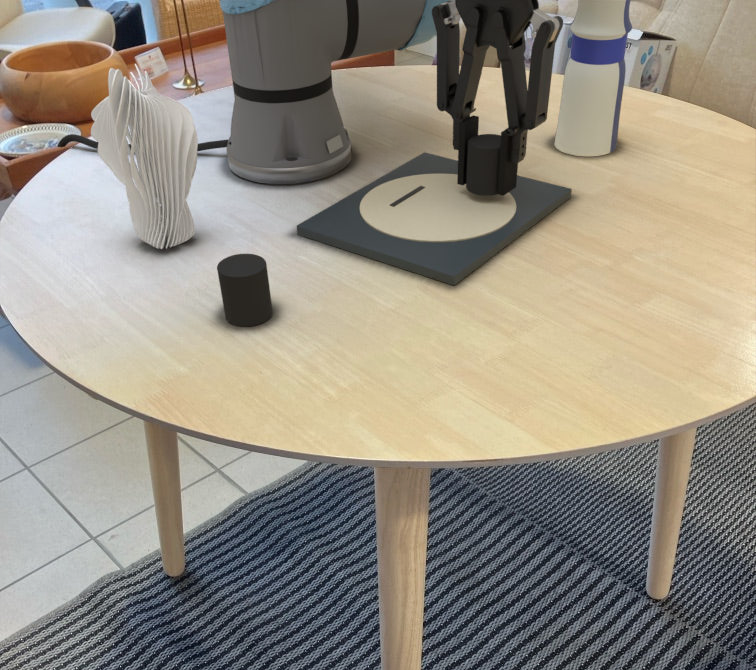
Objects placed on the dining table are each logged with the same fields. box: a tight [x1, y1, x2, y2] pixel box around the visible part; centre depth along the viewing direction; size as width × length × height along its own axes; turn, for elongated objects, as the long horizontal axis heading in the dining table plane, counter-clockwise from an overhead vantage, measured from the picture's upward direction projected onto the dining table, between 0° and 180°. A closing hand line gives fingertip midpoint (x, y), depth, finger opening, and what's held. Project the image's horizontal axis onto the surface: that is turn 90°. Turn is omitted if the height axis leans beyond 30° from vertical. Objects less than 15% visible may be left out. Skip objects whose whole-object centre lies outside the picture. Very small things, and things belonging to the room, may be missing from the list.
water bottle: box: [553, 0, 633, 157], centre depth 99 cm, size 8×9×25 cm
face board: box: [296, 151, 573, 286], centre depth 93 cm, size 20×24×1 cm
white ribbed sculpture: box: [90, 63, 199, 250], centre depth 85 cm, size 8×8×18 cm
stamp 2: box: [466, 133, 501, 196], centre depth 92 cm, size 4×4×5 cm
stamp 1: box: [216, 253, 273, 327], centre depth 78 cm, size 4×4×5 cm
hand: (486, 185), depth 94 cm, fingers closed on stamp 2, 4 cm apart
